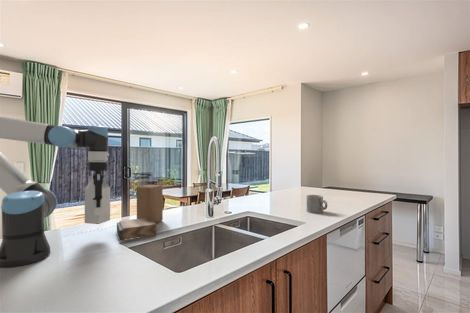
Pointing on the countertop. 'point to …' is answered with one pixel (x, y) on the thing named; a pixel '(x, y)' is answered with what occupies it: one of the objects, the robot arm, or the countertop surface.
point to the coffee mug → (315, 204)
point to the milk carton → (90, 202)
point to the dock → (136, 228)
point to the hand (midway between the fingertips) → (97, 212)
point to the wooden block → (150, 202)
